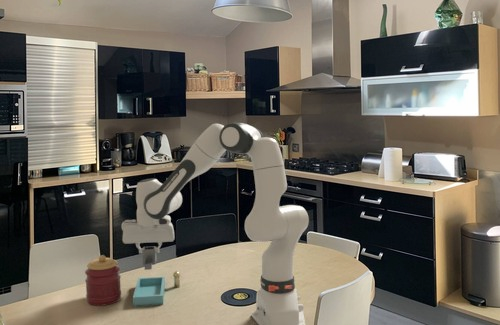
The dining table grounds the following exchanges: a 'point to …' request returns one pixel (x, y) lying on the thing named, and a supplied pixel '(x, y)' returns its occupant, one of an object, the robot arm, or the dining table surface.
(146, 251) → the link
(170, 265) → the dining table surface
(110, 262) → the canister
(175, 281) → the ball stud
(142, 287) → the tray
